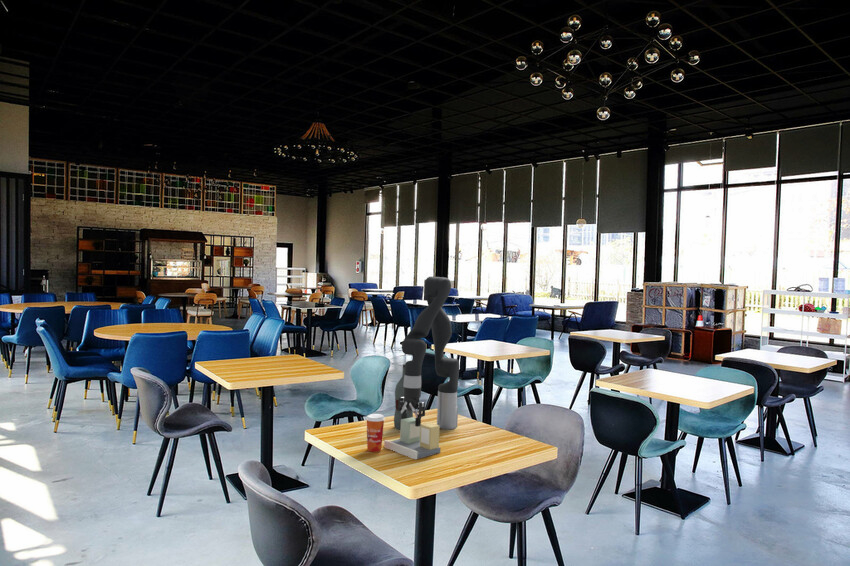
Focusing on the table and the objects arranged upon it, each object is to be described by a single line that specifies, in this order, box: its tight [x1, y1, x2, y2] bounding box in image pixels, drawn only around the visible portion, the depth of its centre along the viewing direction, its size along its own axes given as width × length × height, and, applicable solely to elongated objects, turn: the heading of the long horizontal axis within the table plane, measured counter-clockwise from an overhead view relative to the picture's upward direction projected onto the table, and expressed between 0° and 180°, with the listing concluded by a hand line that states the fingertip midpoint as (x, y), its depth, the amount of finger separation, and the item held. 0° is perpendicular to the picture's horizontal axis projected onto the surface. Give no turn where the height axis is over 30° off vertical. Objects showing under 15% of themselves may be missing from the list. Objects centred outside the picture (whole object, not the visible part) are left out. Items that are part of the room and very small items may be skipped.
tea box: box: [399, 416, 421, 444], centre depth 228 cm, size 5×7×9 cm
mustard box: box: [420, 422, 440, 450], centre depth 220 cm, size 5×6×9 cm
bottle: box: [393, 364, 414, 431], centre depth 254 cm, size 9×9×30 cm
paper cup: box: [365, 413, 386, 453], centre depth 220 cm, size 8×8×14 cm
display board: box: [383, 438, 441, 460], centre depth 222 cm, size 14×19×3 cm
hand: (410, 424), depth 228 cm, fingers open, 8 cm apart
